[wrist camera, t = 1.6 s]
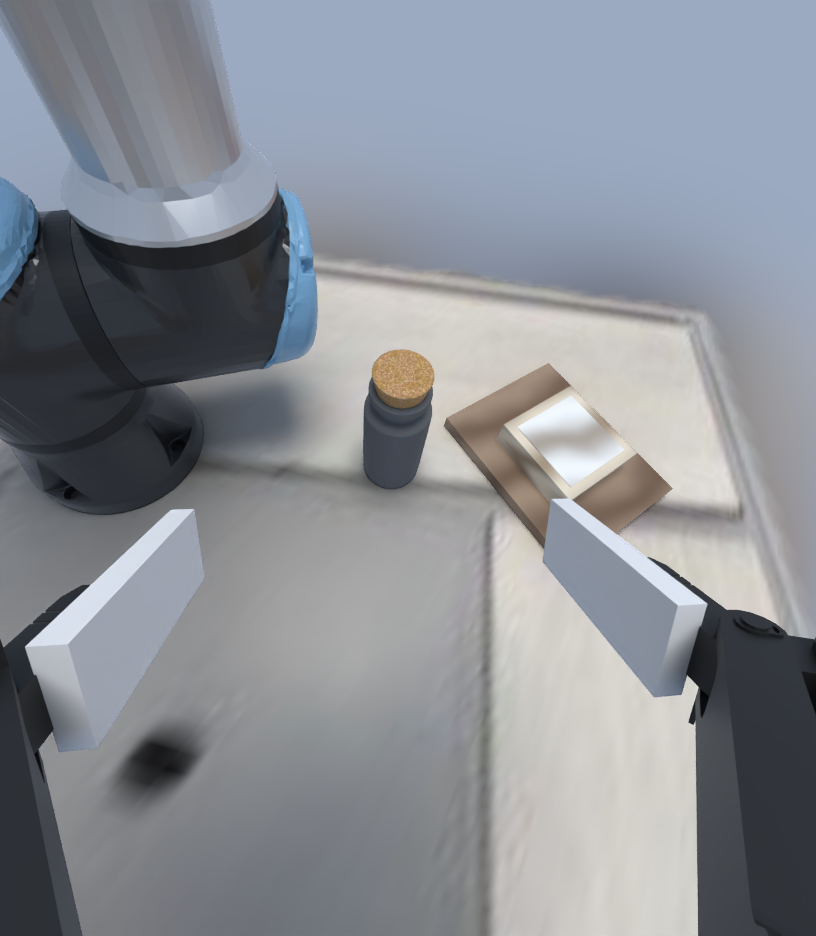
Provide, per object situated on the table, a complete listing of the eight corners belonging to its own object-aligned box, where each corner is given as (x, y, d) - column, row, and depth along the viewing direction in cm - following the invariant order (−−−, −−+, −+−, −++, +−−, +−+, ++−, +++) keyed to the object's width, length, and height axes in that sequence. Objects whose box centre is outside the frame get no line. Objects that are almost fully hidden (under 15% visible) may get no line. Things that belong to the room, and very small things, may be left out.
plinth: (444, 425, 47) (452, 401, 43) (543, 371, 52) (559, 345, 48) (563, 573, 40) (586, 561, 36) (663, 494, 46) (693, 476, 42)
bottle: (412, 438, 46) (433, 341, 32) (422, 486, 43) (449, 401, 30) (360, 443, 45) (359, 345, 31) (366, 492, 42) (369, 408, 29)
